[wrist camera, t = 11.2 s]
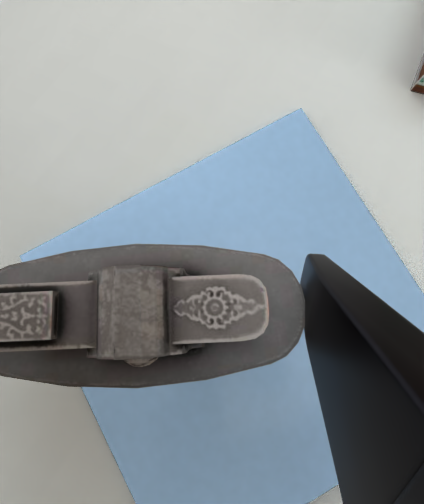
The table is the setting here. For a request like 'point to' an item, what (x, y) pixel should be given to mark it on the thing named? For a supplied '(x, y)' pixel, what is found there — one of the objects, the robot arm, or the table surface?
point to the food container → (419, 79)
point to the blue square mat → (257, 379)
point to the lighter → (146, 315)
